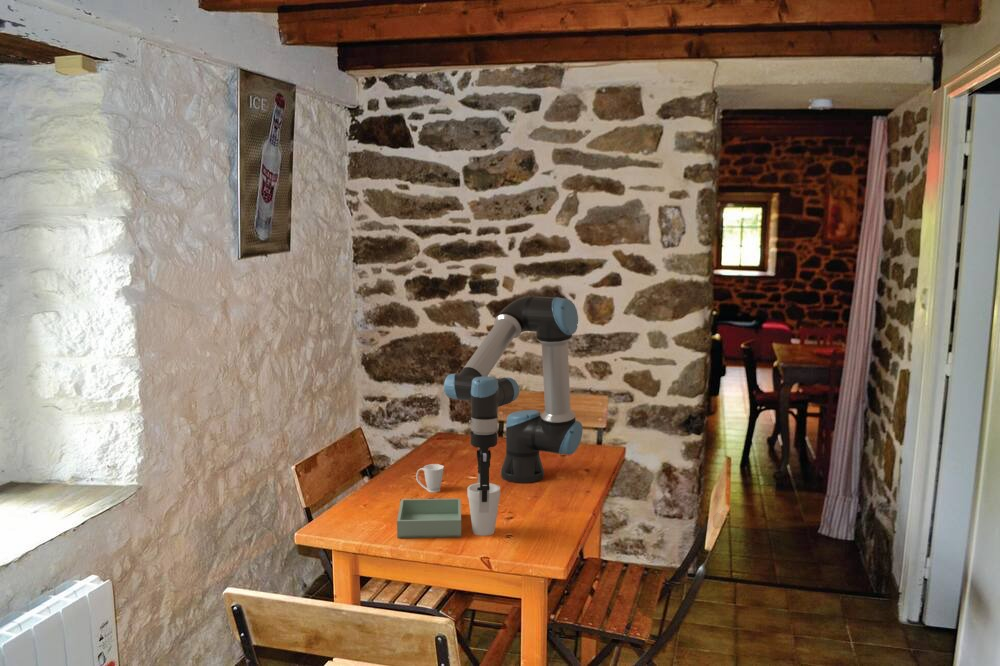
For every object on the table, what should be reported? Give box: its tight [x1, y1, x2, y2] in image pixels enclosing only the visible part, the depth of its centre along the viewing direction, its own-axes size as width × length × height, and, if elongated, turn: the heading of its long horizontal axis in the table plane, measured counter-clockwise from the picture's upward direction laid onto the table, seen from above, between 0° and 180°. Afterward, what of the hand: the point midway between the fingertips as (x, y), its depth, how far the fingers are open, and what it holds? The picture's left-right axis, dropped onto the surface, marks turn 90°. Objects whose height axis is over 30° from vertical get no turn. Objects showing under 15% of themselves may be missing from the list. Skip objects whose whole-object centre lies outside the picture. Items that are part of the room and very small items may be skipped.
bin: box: [396, 498, 462, 539], centre depth 236 cm, size 18×18×5 cm
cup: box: [415, 463, 445, 493], centre depth 267 cm, size 7×10×8 cm
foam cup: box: [466, 482, 501, 537], centre depth 231 cm, size 10×9×13 cm
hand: (483, 504), depth 231 cm, fingers open, 13 cm apart
